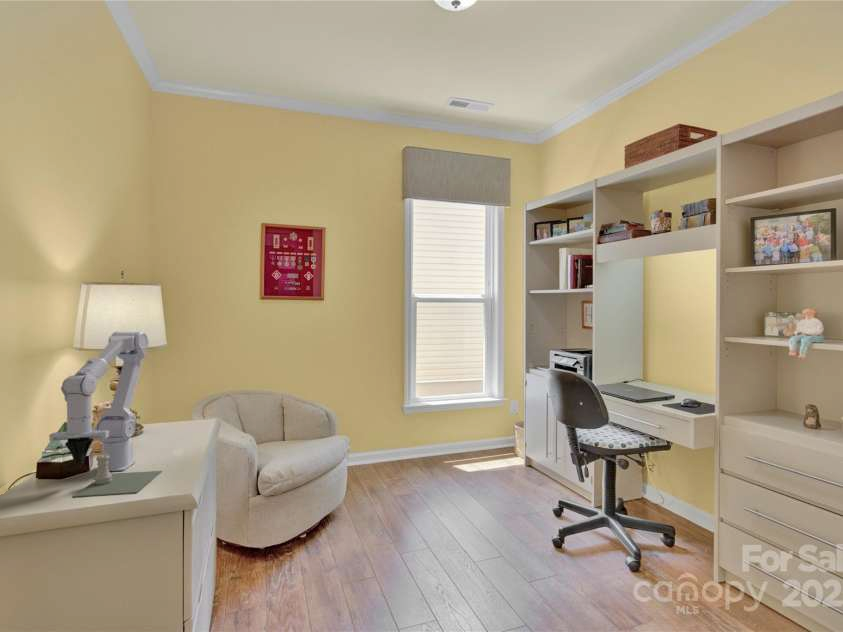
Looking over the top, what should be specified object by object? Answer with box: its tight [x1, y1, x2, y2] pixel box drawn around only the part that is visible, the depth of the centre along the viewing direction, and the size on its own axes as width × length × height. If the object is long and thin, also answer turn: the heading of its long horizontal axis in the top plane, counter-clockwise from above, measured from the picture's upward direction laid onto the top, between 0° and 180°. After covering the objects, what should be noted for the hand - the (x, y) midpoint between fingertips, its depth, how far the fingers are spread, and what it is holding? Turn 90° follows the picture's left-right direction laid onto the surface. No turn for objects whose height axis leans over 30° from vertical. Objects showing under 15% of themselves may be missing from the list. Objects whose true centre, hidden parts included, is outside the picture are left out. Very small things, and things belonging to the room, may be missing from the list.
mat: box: [71, 470, 163, 498], centre depth 137 cm, size 18×16×1 cm
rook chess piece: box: [93, 453, 112, 485], centre depth 137 cm, size 4×4×8 cm
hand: (79, 464), depth 136 cm, fingers closed
